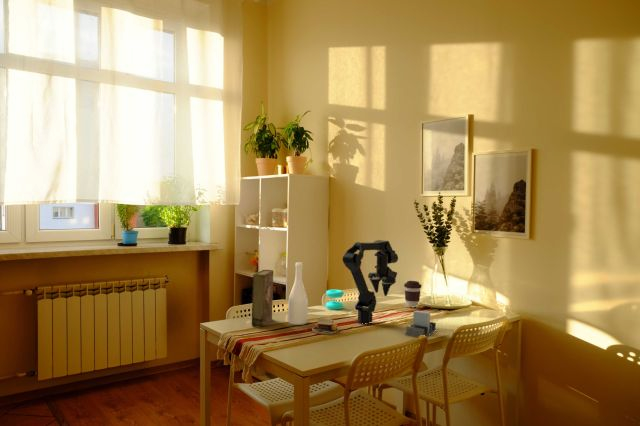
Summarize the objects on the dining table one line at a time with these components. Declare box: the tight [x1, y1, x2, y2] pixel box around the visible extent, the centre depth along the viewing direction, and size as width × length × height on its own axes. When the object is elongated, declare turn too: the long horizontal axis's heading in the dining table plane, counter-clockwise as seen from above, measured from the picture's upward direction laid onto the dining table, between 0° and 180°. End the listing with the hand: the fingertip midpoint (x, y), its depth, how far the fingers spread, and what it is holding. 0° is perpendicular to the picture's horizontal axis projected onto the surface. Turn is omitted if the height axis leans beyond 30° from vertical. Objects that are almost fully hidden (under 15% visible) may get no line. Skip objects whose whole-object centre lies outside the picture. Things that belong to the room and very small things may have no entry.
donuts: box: [325, 289, 345, 311], centre depth 288 cm, size 10×10×10 cm
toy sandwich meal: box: [311, 317, 339, 335], centre depth 239 cm, size 12×14×5 cm
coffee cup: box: [403, 280, 422, 306], centre depth 297 cm, size 10×10×15 cm
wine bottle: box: [287, 261, 309, 326], centre depth 252 cm, size 10×10×30 cm
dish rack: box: [404, 321, 437, 338], centre depth 240 cm, size 9×16×4 cm, turn 147°
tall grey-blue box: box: [412, 310, 431, 332], centre depth 240 cm, size 7×3×9 cm, turn 58°
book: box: [251, 269, 274, 327], centre depth 250 cm, size 16×6×25 cm, turn 168°
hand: (381, 294), depth 265 cm, fingers open, 9 cm apart
